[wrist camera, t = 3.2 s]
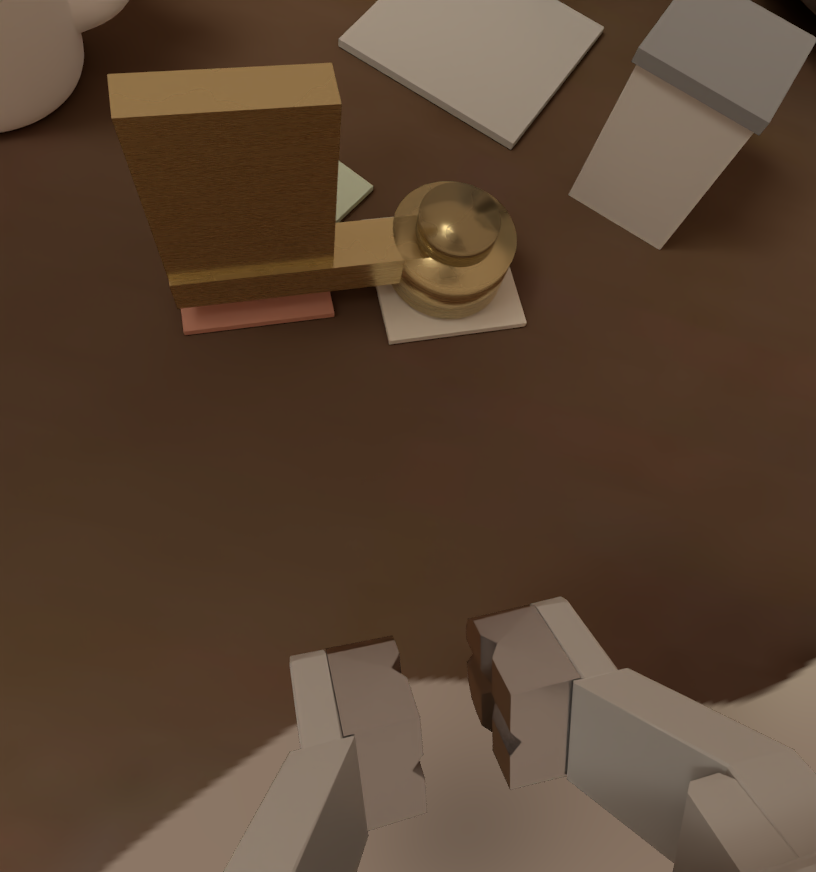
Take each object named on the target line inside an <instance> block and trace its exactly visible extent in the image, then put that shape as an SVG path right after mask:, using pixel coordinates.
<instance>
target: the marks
mask: <svg viewBox="0 0 816 872" xmlns="http://www.w3.org/2000/svg"><path fill="white" fill-rule="evenodd" d="M372 191H373V185H371V184H370V183H369V182H367V181H366V180H364V179H363V178H362V177H360V176H359V175H358V174H356V173H355V172H354V171H352V170H351V169H349V168H348V167H347V166H345V165H344V164H343V163H341V162H340V161H339V164H338V184H337V204H336V223H339V222H340V221H341V220H342V219H343V218H344V217H345V216H346V215H347V214H348V213H349V212H351V211H352V210H353V209H354V208H355V207H356V206H357V205H358V204H359V203H360V202H361V201H362V200H363V199H364V198H365V197H366V196H367V195H368V194H370V193H371V192H372ZM386 218H391V217H386ZM376 219H381V218H376ZM365 220H370V219H365ZM376 290H377V294H378V299H379V303H380V307H381V312H382V316H383V320H384V325H385V329H386V334H387V338H388V342H389V345H390V344H397V343H405V342H412V341H420V340H427V339H435V338H442V337H450V336H457V335H464V334H472V333H479V332H487V331H494V330H502V329H509V328H517V327H524V326H525V325H526V323H527V322H526V319H525V315H524V312H523V309H522V306H521V302H520V299H519V296H518V292H517V289H516V286H515V283H514V279H513V276H512V273H511V269H510V266H509V268H508V271H507V273H506V275H505V277H504V279H503V281H502V283H501V285H500V288H499V290H498V292H497V294H496V295H495V297H494V299H493V300H492V301H491V302H490V303H489V304H488V305H487V306H486V307H485V308H484V309H482V310H481V311H479V312H477V313H475V314H473V315H470V316H467V317H463V318H457V319H442V318H436V317H432V316H429V315H426V314H424V313H421V312H419V311H417V310H416V309H414V308H412V307H411V306H409V305H408V304H407V303H406V302H405V301H403V300H402V299H401V298H400V296H399V295H398V294H397V293H396V291H395V290H394V288H393V287H392V285H391V284H389V285H380V286H376ZM181 315H182V323H183V331H184V334H185V335H191V334H199V333H207V332H216V331H224V330H232V329H240V328H248V327H256V326H264V325H272V324H280V323H288V322H296V321H304V320H312V319H320V318H329V317H334V309H333V304H332V299H331V294H330V291H328V292H320V293H311V294H303V295H294V296H286V297H277V298H268V299H260V300H251V301H243V302H234V303H225V304H217V305H208V306H200V307H191V308H182V309H181Z"/></svg>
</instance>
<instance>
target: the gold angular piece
mask: <svg viewBox="0 0 816 872" xmlns="http://www.w3.org/2000/svg"><path fill="white" fill-rule="evenodd" d="M107 78H108V88H109V99H110V109H111V119H112V121H113V124H114V127H115V130H116V133H117V135H118V138H119V141H120V144H121V147H122V150H123V152H124V155H125V158H126V161H127V164H128V167H129V169H130V172H131V175H132V178H133V181H134V183H135V186H136V189H137V192H138V195H139V198H140V200H141V203H142V206H143V209H144V212H145V214H146V217H147V220H148V223H149V226H150V229H151V231H152V234H153V237H154V240H155V243H156V245H157V248H158V251H159V254H160V257H161V260H162V262H163V265H164V268H165V271H166V274H167V277H168V279H169V286H170V289H171V292H172V294H173V297H174V300H175V303H176V306H177V308H178V309H182V308H191V307H200V306H208V305H217V304H225V303H234V302H243V301H251V300H260V299H268V298H277V297H286V296H294V295H303V294H311V293H320V292H328V291H337V290H346V289H354V288H363V287H371V286H380V285H389V284H391V285H392V287H393V288H394V290H395V291H396V293H397V294H398V295H399V296H400V298H401V299H402V300H403V301H405V302H406V303H407V304H408V305H409V306H411V307H412V308H414V309H416V310H417V311H419V312H421V313H424V314H426V315H429V316H432V317H436V318H442V319H457V318H463V317H467V316H470V315H473V314H475V313H477V312H479V311H481V310H482V309H484V308H485V307H486V306H487V305H488V304H489V303H490V302H491V301H492V300H493V299H494V297H495V295H496V294H497V292H498V290H499V288H500V285H501V283H502V281H503V279H504V277H505V275H506V273H507V271H508V268H509V266H510V264H511V262H512V260H513V257H514V255H515V251H516V247H517V235H516V230H515V226H514V224H513V221H512V219H511V217H510V215H509V213H508V212H507V211H506V209H505V208H504V207H503V206H502V205H501V203H500V202H499V201H497V200H496V199H495V198H494V197H493V196H491V195H490V194H488V193H487V192H485V191H483V190H481V189H479V188H477V187H475V186H473V185H469V184H466V183H460V182H453V181H441V182H434V183H430V184H426V185H424V186H421V187H419V188H417V189H415V190H414V191H412V192H411V193H410V194H408V195H407V196H406V197H405V198H404V199H403V200H402V202H401V203H400V204H399V206H398V208H397V210H396V212H395V215H394V217H391V218H381V219H370V220H360V221H350V222H339V223H336V204H337V184H338V164H339V144H340V124H341V105H342V104H341V100H340V95H339V91H338V87H337V83H336V78H335V74H334V70H333V66H332V63H316V64H296V65H277V66H257V67H237V68H217V69H197V70H177V71H158V72H138V73H118V74H107Z"/></svg>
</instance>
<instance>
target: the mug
mask: <svg viewBox="0 0 816 872" xmlns="http://www.w3.org/2000/svg"><path fill="white" fill-rule="evenodd" d="M128 1H129V0H0V133H1V132H6V131H11V130H15V129H18V128H22V127H25V126H27V125H30V124H32V123H35V122H37V121H38V120H40V119H42V118H44V117H46V116H47V115H49V114H50V113H52V112H53V111H54V110H56V109H57V108H58V107H59V106H60V105H62V104H63V103H64V102H65V101H66V99H67V98H68V97H69V96H70V95H71V94H72V92H73V90H74V89H75V87H76V86H77V83H78V81H79V78H80V76H81V72H82V67H83V63H84V48H83V40H82V35H81V33H82V32H84V31H87V30H90V29H92V28H95V27H97V26H100V25H102V24H104V23H105V22H107V21H109V20H110V19H112V18H113V17H115V16H116V15H117V14H118V13H119V12H120V11H121V10H122V9H123V8H124V7H125V5H126V4H127V3H128Z"/></svg>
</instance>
